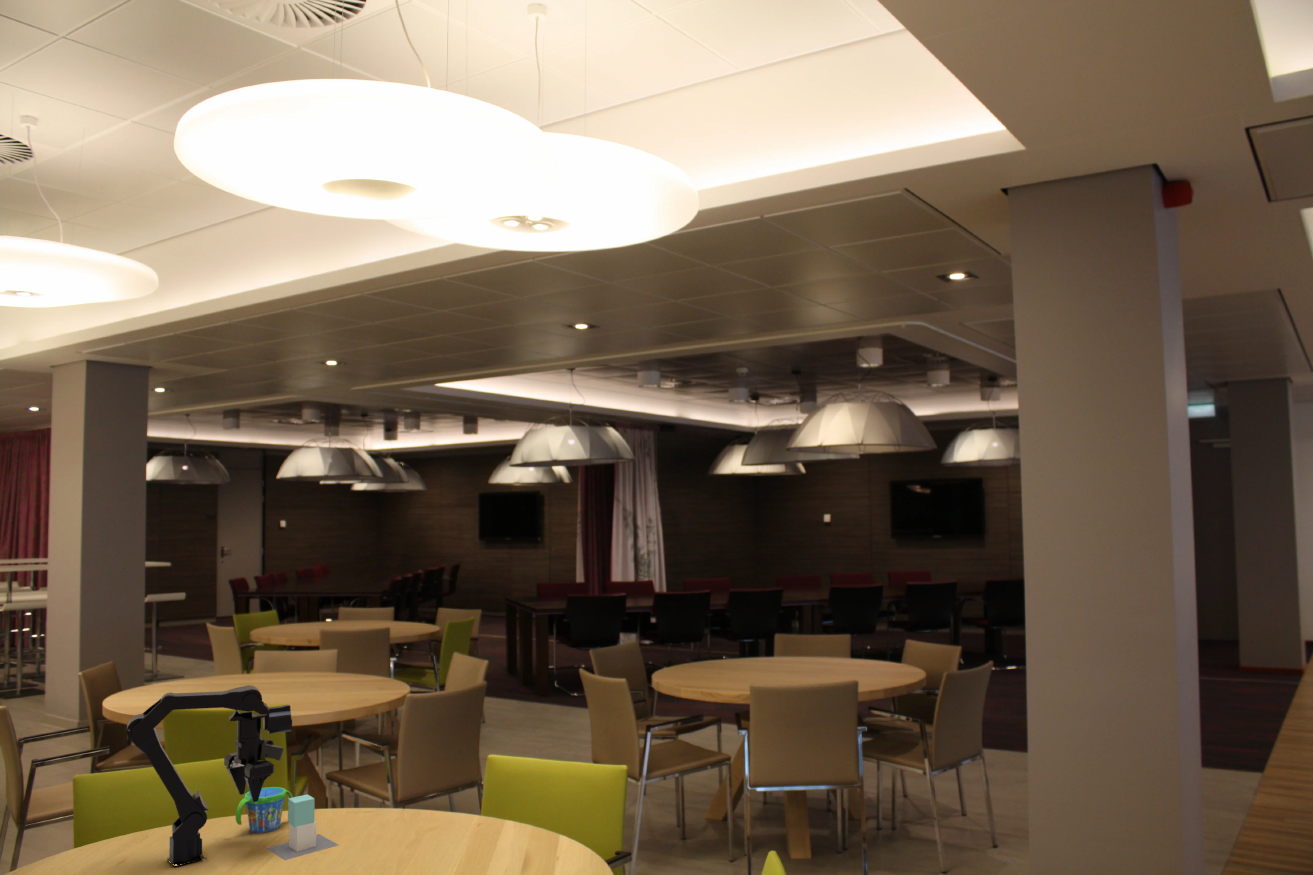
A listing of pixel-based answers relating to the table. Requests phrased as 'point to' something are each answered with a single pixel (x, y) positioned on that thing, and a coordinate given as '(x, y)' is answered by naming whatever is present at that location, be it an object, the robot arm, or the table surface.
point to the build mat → (289, 853)
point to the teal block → (301, 810)
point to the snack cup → (264, 809)
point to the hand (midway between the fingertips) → (248, 797)
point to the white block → (302, 836)
